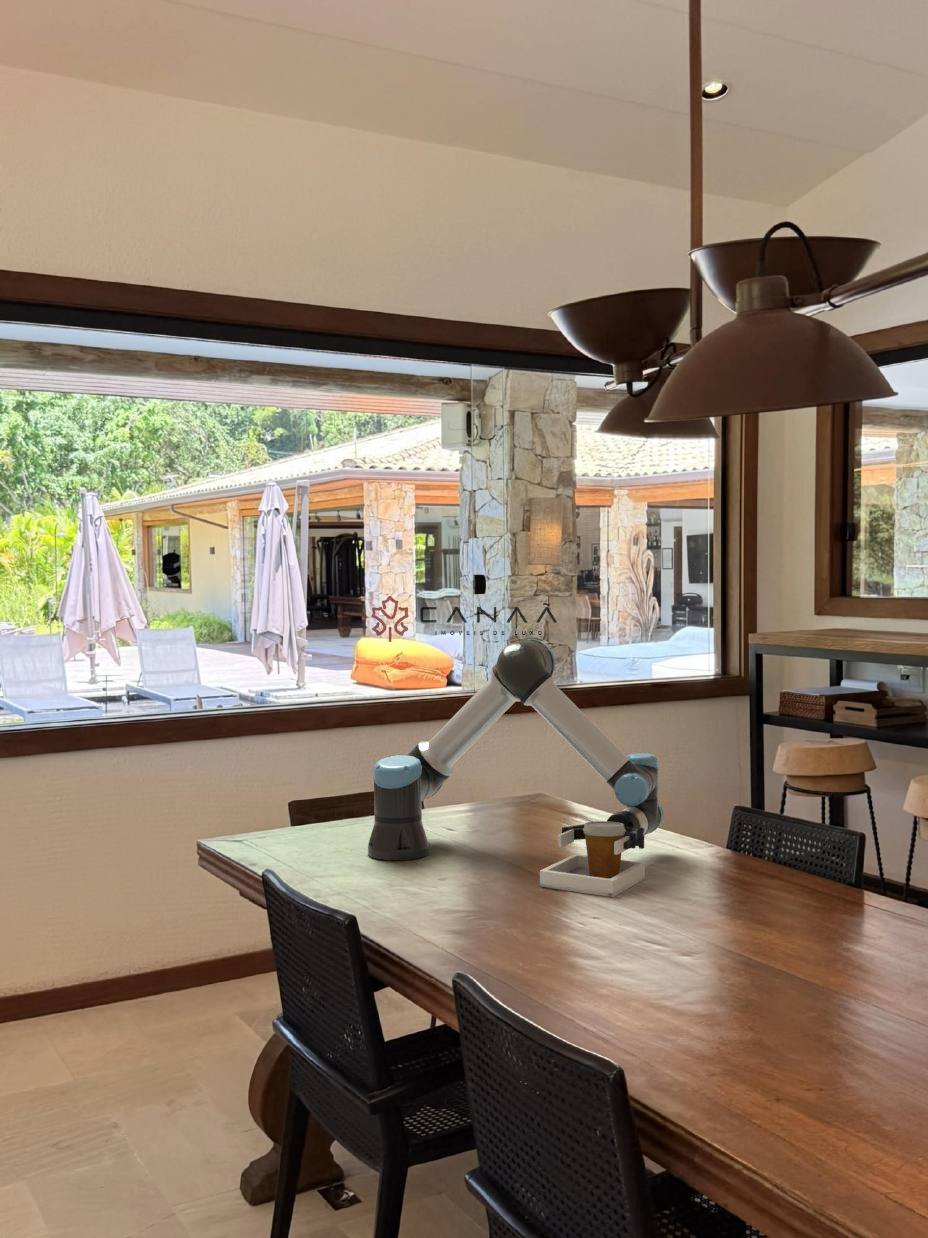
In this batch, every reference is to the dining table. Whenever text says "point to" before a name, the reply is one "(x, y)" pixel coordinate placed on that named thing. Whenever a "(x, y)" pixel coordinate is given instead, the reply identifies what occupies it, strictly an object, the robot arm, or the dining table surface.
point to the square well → (590, 877)
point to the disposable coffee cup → (603, 847)
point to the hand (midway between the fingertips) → (587, 844)
